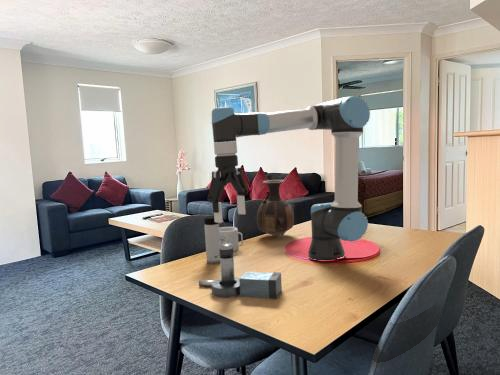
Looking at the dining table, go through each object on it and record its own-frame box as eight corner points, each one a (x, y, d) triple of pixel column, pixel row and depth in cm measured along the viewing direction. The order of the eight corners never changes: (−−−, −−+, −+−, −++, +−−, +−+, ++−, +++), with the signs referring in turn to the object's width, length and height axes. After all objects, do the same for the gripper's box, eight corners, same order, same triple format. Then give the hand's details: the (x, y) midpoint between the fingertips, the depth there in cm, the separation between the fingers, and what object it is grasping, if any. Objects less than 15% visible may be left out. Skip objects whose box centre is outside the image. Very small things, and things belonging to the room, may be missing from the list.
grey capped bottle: (227, 287, 131) (224, 242, 129) (238, 289, 128) (235, 244, 127) (219, 292, 127) (216, 246, 125) (230, 294, 125) (227, 247, 123)
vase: (257, 232, 211) (255, 179, 208) (292, 231, 210) (290, 177, 207) (257, 243, 188) (254, 183, 185) (296, 241, 187) (293, 181, 184)
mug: (212, 251, 177) (211, 231, 176) (222, 245, 187) (221, 226, 186) (238, 253, 172) (237, 232, 171) (247, 247, 182) (246, 227, 181)
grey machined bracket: (283, 288, 127) (282, 270, 127) (275, 301, 117) (274, 282, 116) (203, 283, 137) (201, 266, 136) (189, 294, 126) (187, 276, 126)
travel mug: (219, 264, 158) (216, 217, 156) (204, 263, 159) (201, 217, 157) (223, 259, 164) (221, 214, 162) (209, 259, 165) (206, 214, 163)
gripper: (237, 153, 137) (241, 210, 139) (192, 158, 116) (198, 225, 119) (255, 152, 133) (259, 211, 135) (211, 157, 112) (217, 226, 115)
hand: (230, 218), depth 127 cm, fingers open, 13 cm apart
